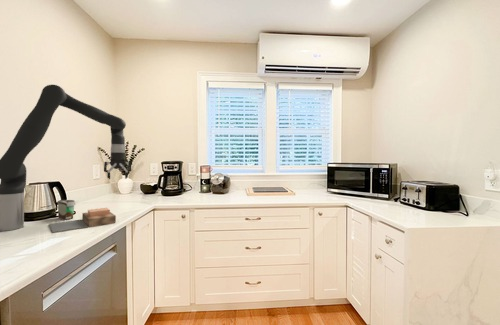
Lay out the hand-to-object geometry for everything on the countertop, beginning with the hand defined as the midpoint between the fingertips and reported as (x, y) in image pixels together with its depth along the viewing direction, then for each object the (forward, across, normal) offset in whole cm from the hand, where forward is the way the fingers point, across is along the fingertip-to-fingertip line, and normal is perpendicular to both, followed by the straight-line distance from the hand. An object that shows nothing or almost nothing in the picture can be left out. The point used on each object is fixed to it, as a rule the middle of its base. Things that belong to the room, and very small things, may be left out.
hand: (117, 178), depth 137 cm
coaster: (+19, -9, -8) cm, 22 cm away
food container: (+23, -25, +8) cm, 34 cm away
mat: (+23, -22, -11) cm, 34 cm away
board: (+23, -9, -8) cm, 26 cm away
